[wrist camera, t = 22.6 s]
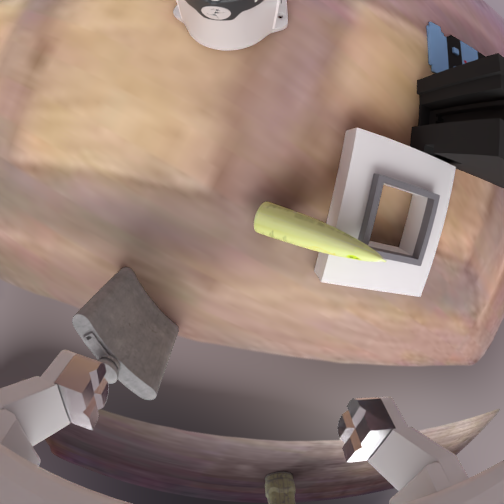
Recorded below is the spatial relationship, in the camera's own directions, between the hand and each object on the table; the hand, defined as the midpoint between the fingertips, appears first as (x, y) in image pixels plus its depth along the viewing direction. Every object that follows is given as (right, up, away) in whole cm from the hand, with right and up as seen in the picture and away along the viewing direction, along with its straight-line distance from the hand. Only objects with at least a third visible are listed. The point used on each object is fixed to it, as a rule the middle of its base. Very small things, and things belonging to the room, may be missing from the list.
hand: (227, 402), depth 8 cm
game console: (+47, +35, +32) cm, 67 cm away
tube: (+2, +10, +36) cm, 37 cm away
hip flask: (-18, -5, +42) cm, 46 cm away
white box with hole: (+23, +11, +38) cm, 46 cm away
